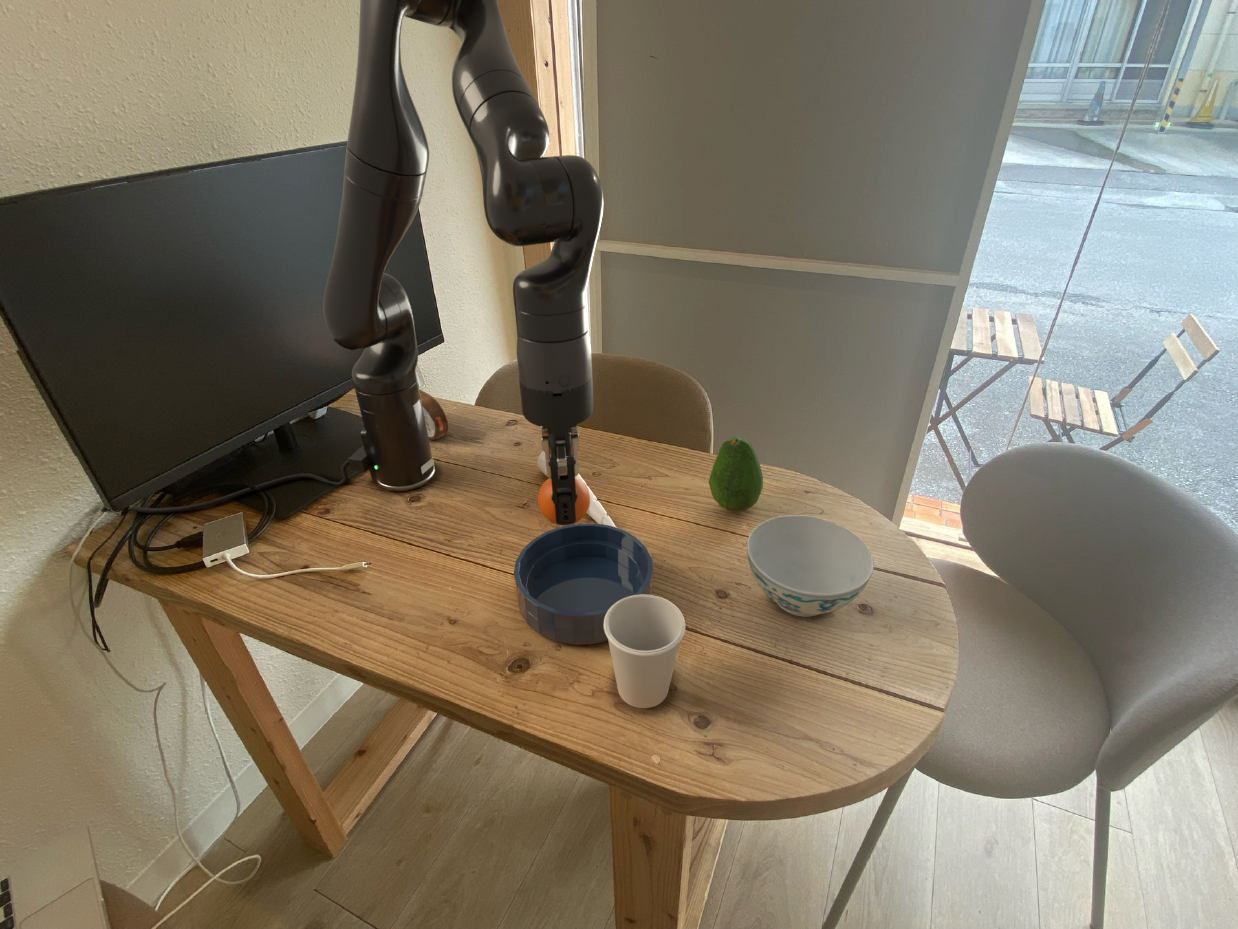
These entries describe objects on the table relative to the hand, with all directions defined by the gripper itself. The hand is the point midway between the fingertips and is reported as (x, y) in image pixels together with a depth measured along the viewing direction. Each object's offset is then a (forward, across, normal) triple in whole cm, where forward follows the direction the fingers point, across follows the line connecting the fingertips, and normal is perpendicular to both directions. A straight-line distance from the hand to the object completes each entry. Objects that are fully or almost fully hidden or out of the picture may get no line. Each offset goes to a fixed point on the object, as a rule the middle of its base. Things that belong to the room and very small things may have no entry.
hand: (564, 505), depth 74 cm
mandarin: (-1, 0, 0) cm, 1 cm away
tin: (+15, -48, -25) cm, 57 cm away
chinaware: (+15, +3, +29) cm, 33 cm away
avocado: (+15, -17, +26) cm, 35 cm away
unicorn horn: (+15, -22, +3) cm, 27 cm away
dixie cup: (+15, +14, +7) cm, 22 cm away
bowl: (+15, 0, +2) cm, 15 cm away
